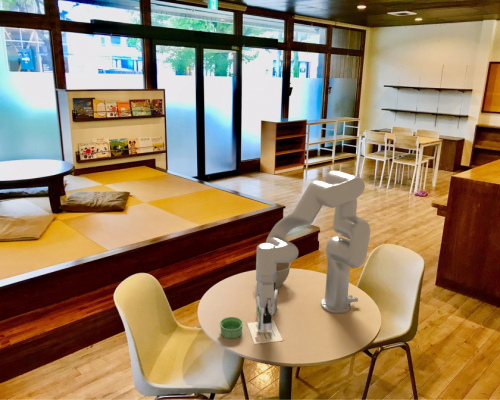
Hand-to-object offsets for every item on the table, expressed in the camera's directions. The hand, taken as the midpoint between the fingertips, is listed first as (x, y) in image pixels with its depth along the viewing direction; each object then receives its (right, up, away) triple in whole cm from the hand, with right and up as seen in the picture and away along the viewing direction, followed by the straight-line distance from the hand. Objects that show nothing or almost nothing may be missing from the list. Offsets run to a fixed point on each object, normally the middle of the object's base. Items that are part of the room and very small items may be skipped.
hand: (264, 317), depth 162 cm
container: (+2, -1, +18) cm, 18 cm away
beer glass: (0, -5, +1) cm, 5 cm away
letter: (0, -6, +2) cm, 6 cm away
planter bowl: (+5, +5, +39) cm, 40 cm away
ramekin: (-13, -6, +1) cm, 15 cm away
